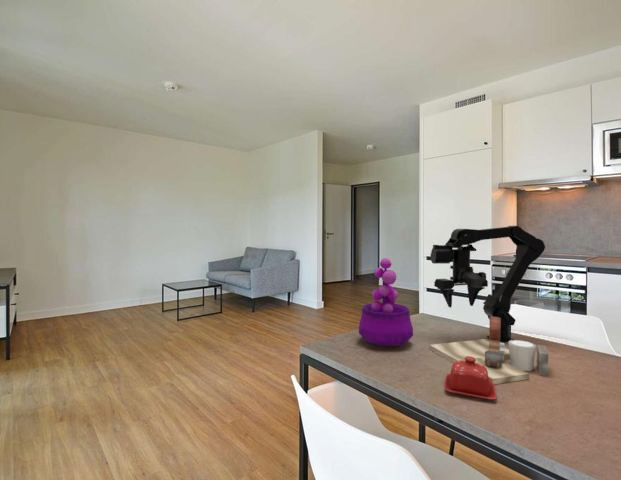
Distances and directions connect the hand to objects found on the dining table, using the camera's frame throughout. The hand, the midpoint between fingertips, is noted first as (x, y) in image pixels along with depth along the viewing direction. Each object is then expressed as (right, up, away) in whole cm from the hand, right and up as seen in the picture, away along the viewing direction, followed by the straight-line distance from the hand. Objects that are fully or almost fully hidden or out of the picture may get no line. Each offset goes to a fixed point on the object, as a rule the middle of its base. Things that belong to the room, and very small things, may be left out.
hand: (460, 306), depth 125 cm
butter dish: (-14, -14, -38) cm, 43 cm away
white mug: (+7, -13, -25) cm, 29 cm away
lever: (+2, -11, -20) cm, 23 cm away
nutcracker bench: (+1, -13, -20) cm, 23 cm away
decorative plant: (-28, -12, -3) cm, 31 cm away
